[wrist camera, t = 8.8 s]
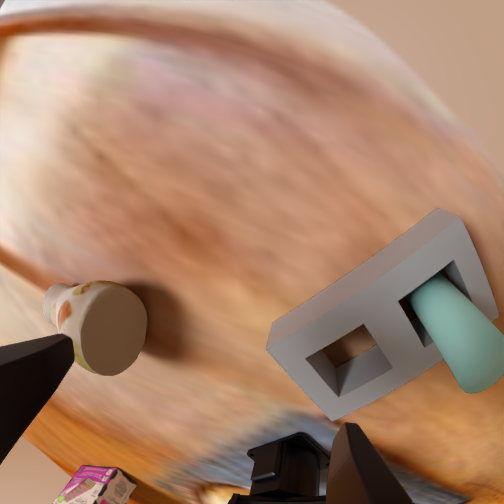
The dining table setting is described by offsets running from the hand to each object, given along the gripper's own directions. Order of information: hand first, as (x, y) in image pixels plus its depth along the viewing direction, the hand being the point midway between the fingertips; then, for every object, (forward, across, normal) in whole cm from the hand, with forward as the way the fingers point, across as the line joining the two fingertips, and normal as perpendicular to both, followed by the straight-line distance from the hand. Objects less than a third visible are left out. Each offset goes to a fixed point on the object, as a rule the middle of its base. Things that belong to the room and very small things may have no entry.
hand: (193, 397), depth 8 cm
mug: (+13, +12, +8) cm, 20 cm away
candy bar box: (+13, +16, +41) cm, 46 cm away
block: (+13, -9, +1) cm, 16 cm away
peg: (+13, -11, -1) cm, 17 cm away
